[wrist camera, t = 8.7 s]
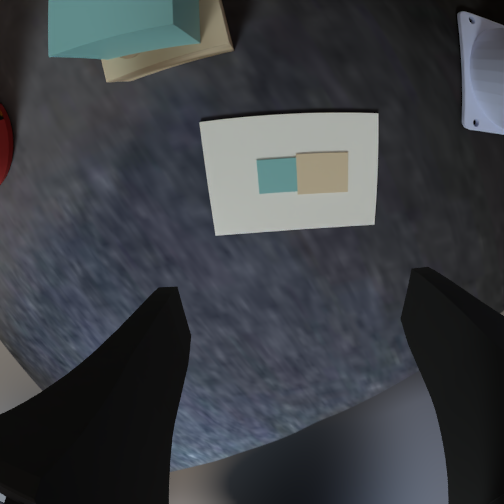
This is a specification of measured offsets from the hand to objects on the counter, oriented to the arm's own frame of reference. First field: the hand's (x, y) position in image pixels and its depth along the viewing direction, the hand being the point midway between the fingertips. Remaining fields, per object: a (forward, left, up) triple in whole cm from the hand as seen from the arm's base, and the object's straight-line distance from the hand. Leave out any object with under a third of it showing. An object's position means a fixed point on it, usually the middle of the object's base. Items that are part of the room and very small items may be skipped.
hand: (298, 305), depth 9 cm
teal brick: (+5, -11, -7) cm, 14 cm away
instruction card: (-1, -1, -10) cm, 10 cm away
